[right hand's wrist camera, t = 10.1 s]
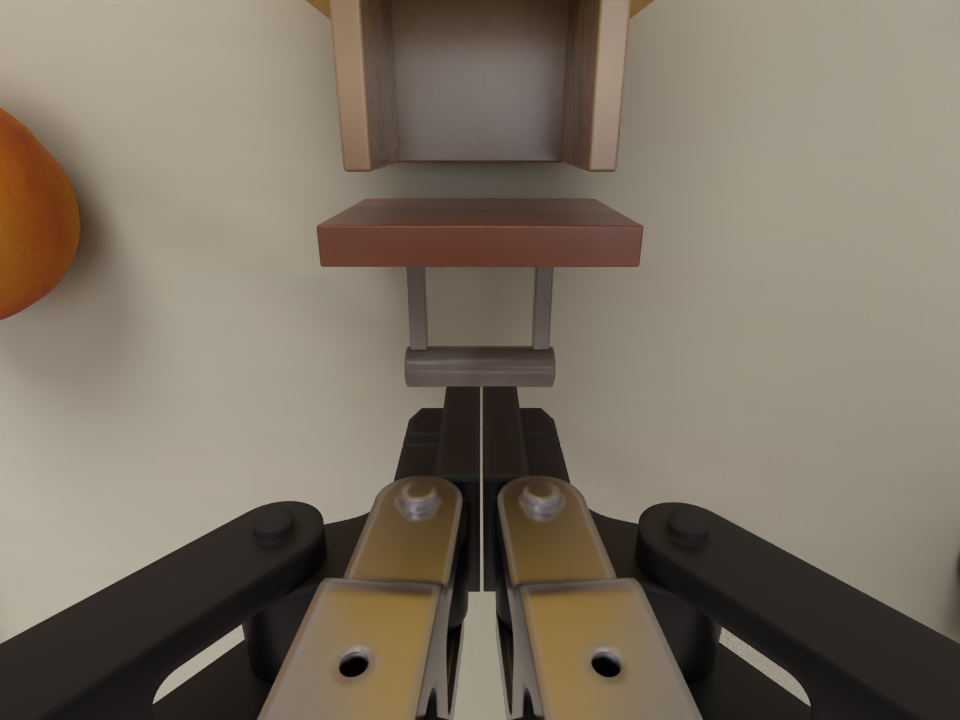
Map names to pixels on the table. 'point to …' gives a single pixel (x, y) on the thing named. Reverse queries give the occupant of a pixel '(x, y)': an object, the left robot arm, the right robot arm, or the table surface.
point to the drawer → (480, 153)
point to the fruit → (32, 219)
